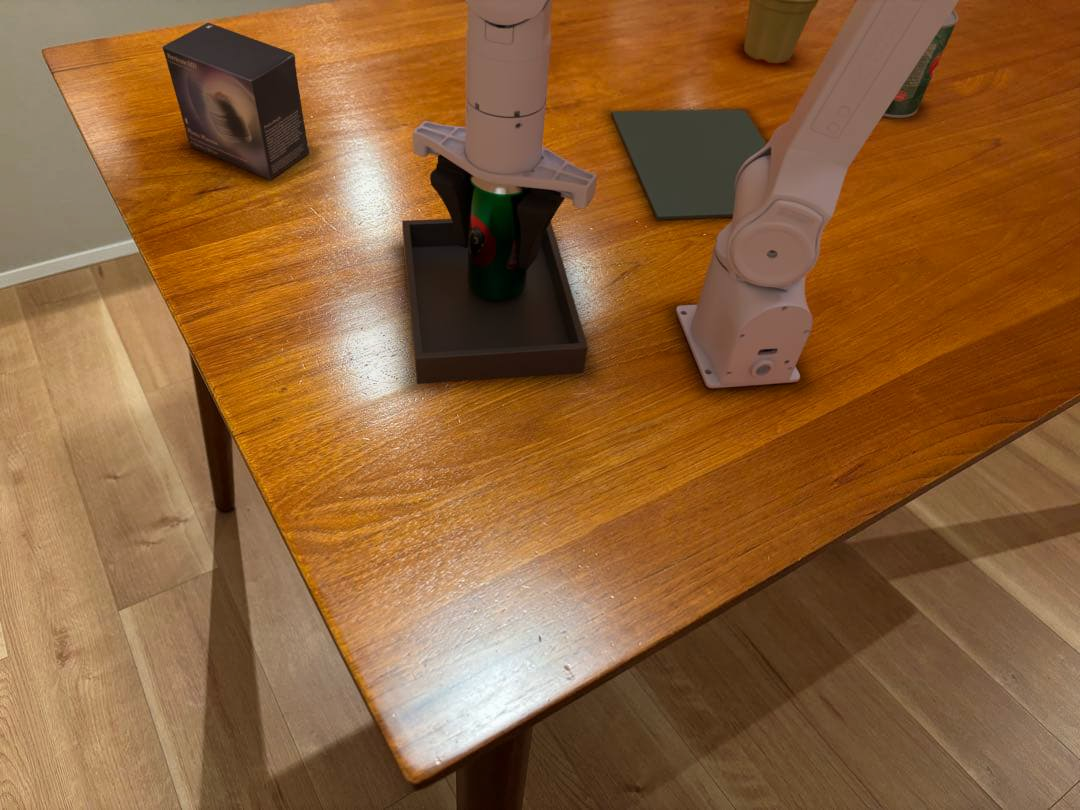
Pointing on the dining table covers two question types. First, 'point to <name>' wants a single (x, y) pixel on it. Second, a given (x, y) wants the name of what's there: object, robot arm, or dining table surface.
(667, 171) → the mat
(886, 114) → the canned tomato
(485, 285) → the soda can
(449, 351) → the tray
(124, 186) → the dining table surface
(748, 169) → the robot arm
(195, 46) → the small box
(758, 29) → the plant pot
